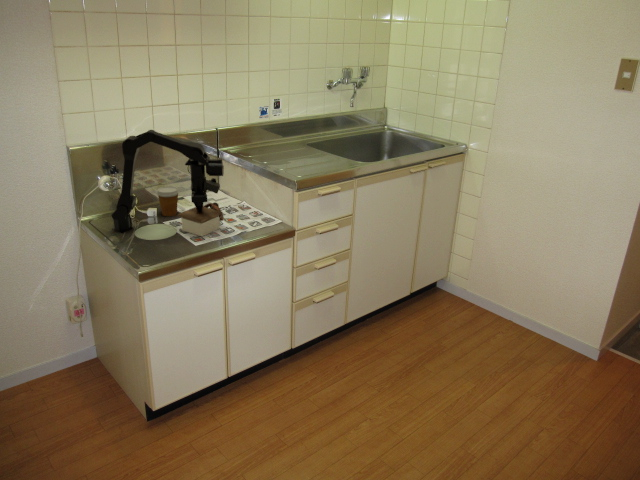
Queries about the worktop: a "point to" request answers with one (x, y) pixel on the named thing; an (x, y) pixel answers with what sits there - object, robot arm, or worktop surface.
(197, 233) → the cream open box
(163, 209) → the disposable coffee cup
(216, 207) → the brown curved piece
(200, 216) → the walnut lid
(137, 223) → the worktop surface
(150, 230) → the sage mat
